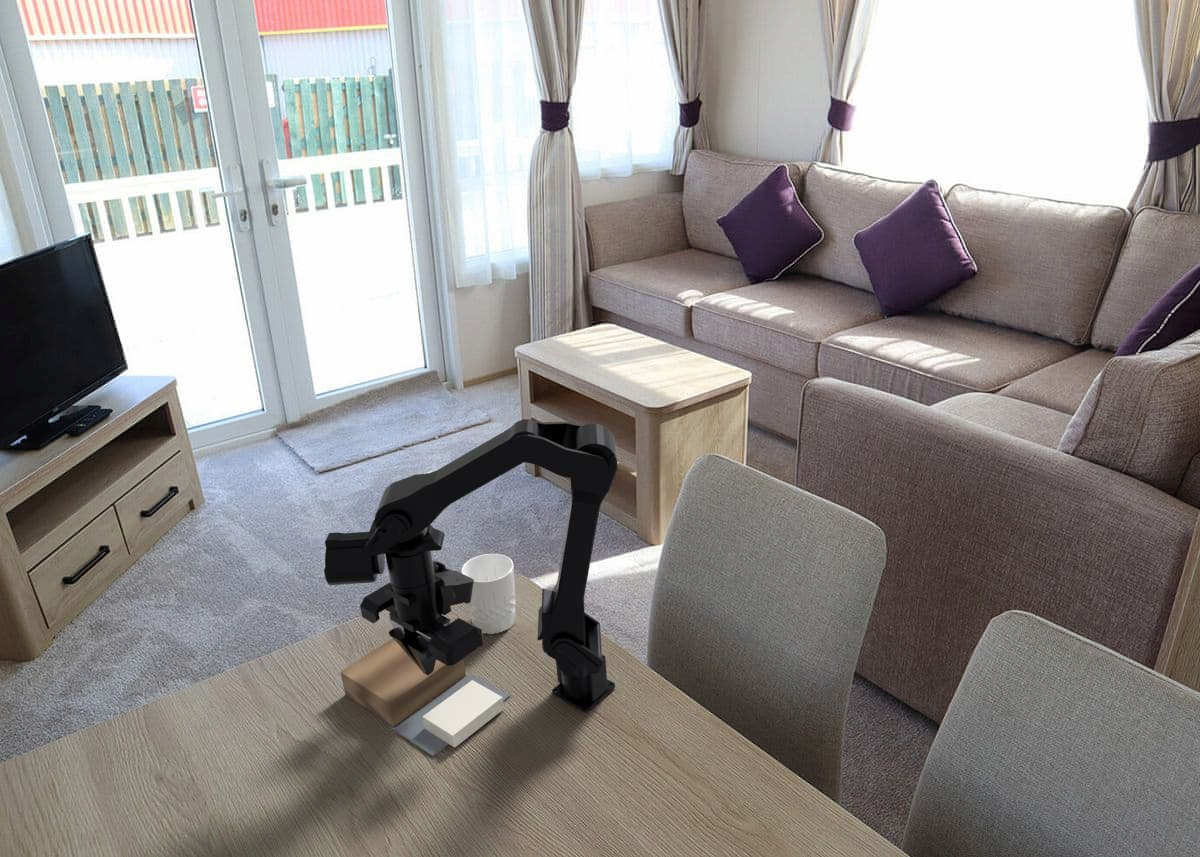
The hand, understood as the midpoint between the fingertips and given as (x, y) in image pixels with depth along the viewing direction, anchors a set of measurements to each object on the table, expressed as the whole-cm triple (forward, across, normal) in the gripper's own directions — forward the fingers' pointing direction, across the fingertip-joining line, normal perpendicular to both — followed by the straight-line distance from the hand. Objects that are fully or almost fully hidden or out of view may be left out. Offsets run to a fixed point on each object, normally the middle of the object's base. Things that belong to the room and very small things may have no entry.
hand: (428, 672), depth 126 cm
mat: (+5, -4, 0) cm, 6 cm away
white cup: (+5, +6, -18) cm, 20 cm away
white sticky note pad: (+3, -6, 0) cm, 7 cm away
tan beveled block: (+5, +6, 0) cm, 8 cm away
